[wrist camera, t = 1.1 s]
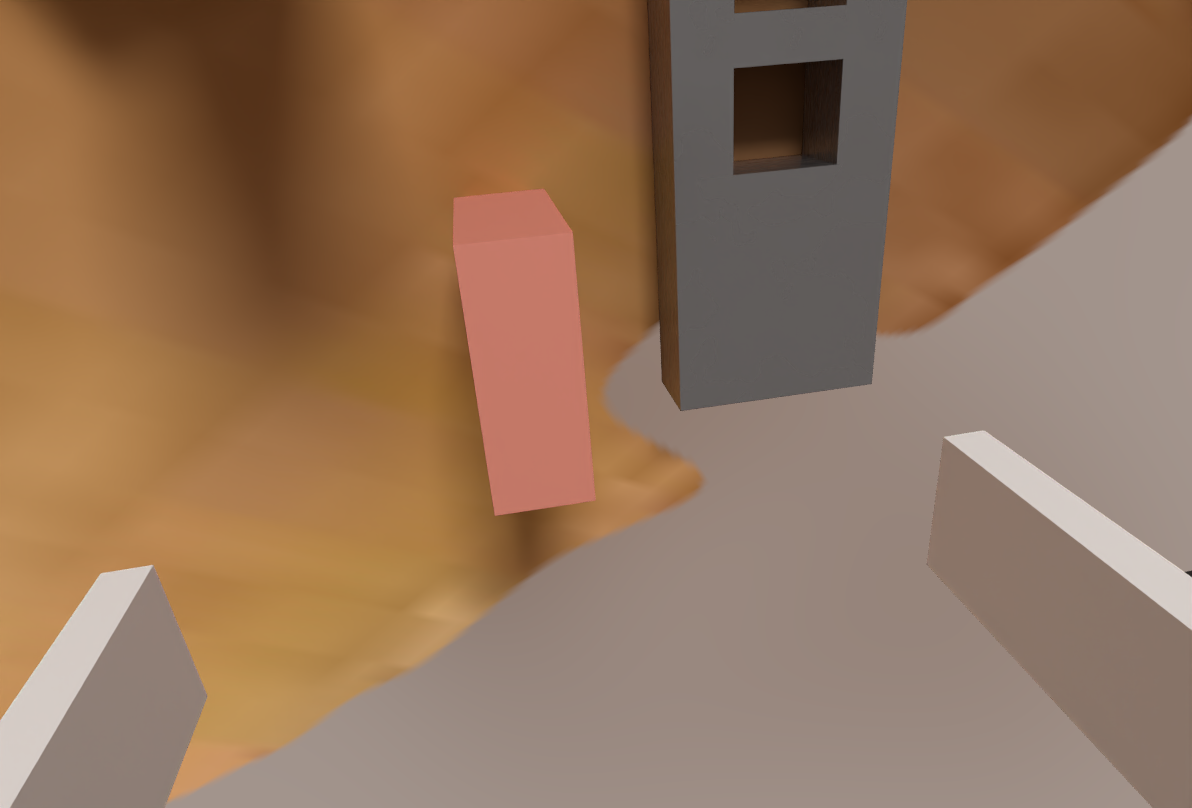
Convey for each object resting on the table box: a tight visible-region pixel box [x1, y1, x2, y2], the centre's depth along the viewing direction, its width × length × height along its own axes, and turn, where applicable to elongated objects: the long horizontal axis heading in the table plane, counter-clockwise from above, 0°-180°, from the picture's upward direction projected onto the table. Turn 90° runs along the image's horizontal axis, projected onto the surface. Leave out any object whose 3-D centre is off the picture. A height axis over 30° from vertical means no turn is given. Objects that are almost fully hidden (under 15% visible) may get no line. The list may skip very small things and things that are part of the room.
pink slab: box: [453, 189, 595, 516], centre depth 25 cm, size 3×8×10 cm, turn 5°
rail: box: [648, 0, 907, 411], centre depth 26 cm, size 8×26×3 cm, turn 4°
